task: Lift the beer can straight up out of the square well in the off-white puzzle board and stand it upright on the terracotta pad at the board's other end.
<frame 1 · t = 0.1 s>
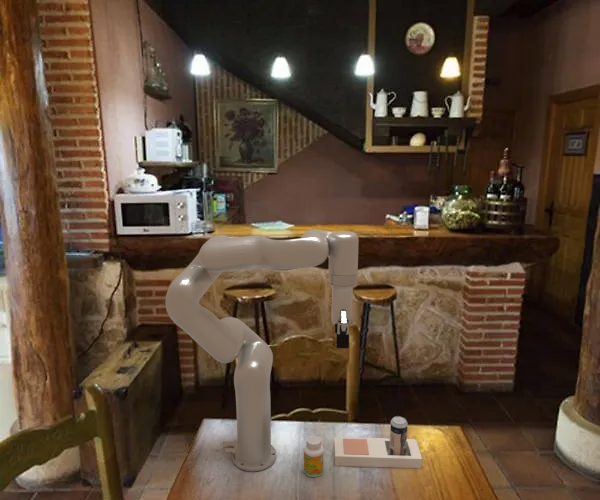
hand: (341, 340, 130), 37 cm above the table, tool pointing down, fingers open, 9 cm apart
supplement bottle: (313, 471, 133), on the table
beer can: (397, 458, 139), resting in well board
well board: (376, 456, 139), on the table
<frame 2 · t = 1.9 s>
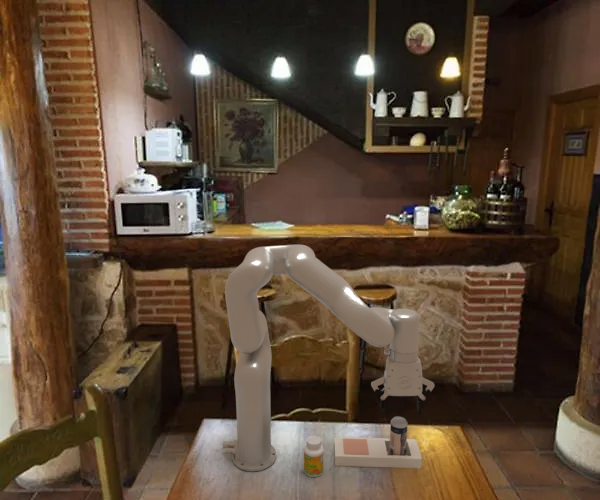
hand: (401, 410, 136), 15 cm above the table, tool pointing down, fingers open, 9 cm apart
nothing on the table moved.
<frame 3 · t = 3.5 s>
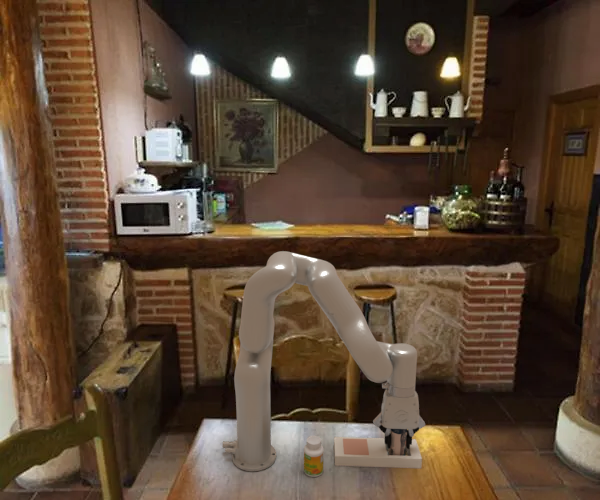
hand: (397, 445, 138), 4 cm above the table, tool pointing down, fingers closed on beer can, 4 cm apart
beer can: (397, 457, 139), resting in well board, touching gripper
everything else where it was.
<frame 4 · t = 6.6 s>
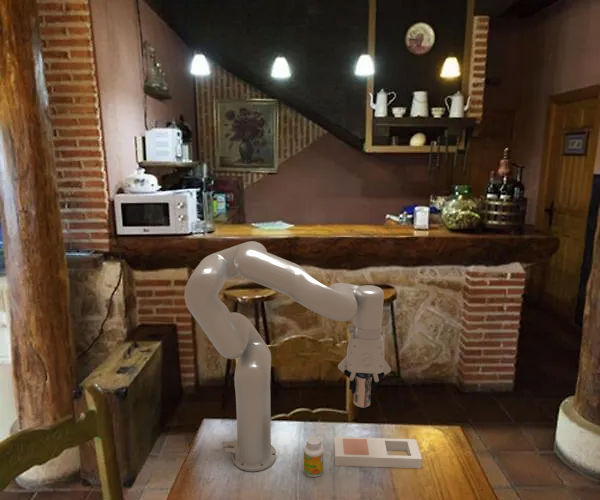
hand: (362, 391, 135), 21 cm above the table, tool pointing down, fingers closed on beer can, 4 cm apart
beer can: (361, 404, 136), point 16 cm above the table, touching gripper
everything else where it was.
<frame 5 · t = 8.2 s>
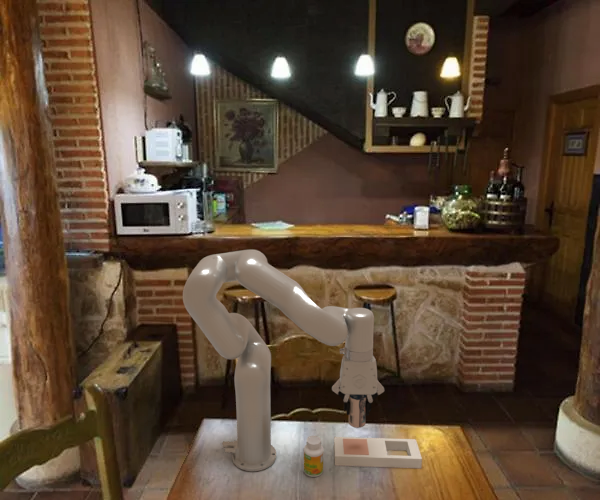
hand: (357, 412, 136), 14 cm above the table, tool pointing down, fingers closed on beer can, 4 cm apart
beer can: (357, 424, 137), point 10 cm above the table, touching gripper
everything else where it was.
when the fingers open (8 cm above the table, at t = 9.7 s): beer can stays where it is, resting on well board.
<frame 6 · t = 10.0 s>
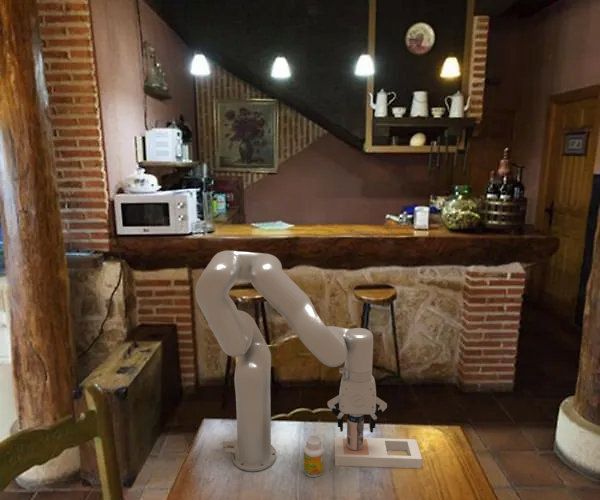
hand: (356, 429, 138), 9 cm above the table, tool pointing down, fingers open, 8 cm apart
beer can: (354, 446, 139), point 3 cm above the table, touching well board
everything else where it was.
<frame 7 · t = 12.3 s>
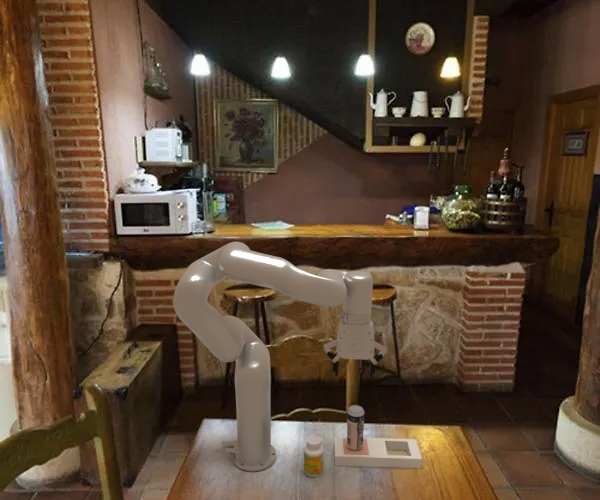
hand: (353, 374, 135), 25 cm above the table, tool pointing down, fingers open, 9 cm apart
nothing on the table moved.
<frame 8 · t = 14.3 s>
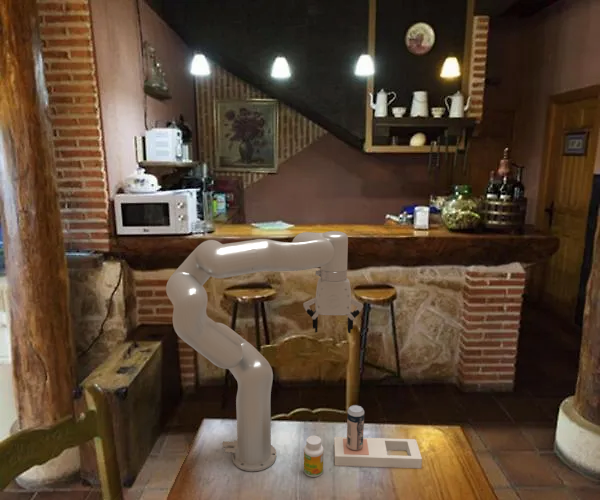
hand: (332, 330, 142), 34 cm above the table, tool pointing down, fingers open, 9 cm apart
nothing on the table moved.
at the end: beer can 0.3 cm from the target spot on the well board, point 3.0 cm above the well board's base; beer can tilted 0°; the gripper is holding nothing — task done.
